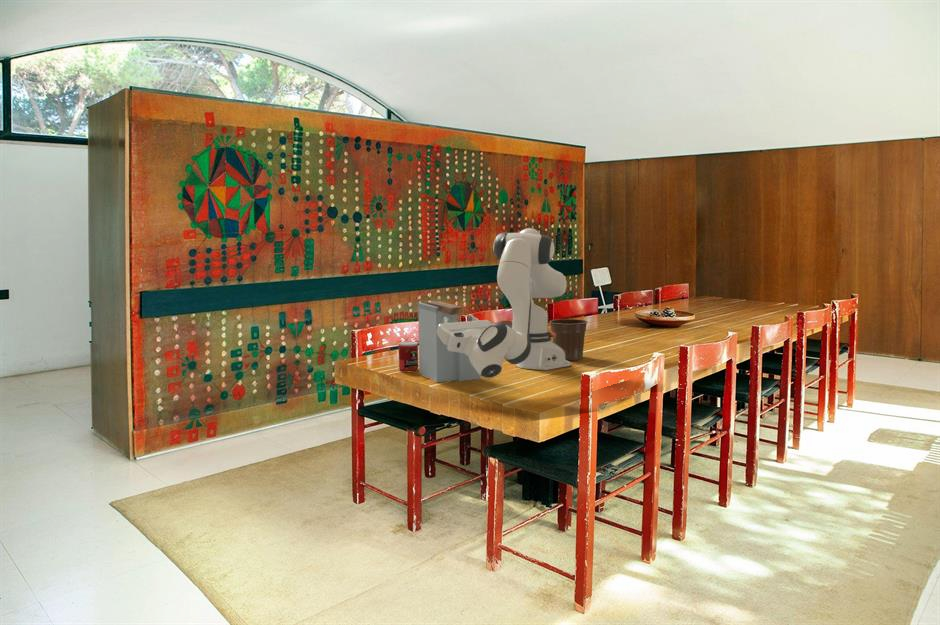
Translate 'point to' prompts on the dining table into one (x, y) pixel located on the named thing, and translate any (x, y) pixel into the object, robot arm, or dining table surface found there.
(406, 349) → the canned food
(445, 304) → the brown bar
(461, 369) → the step box
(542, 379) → the dining table surface
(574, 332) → the plant pot
